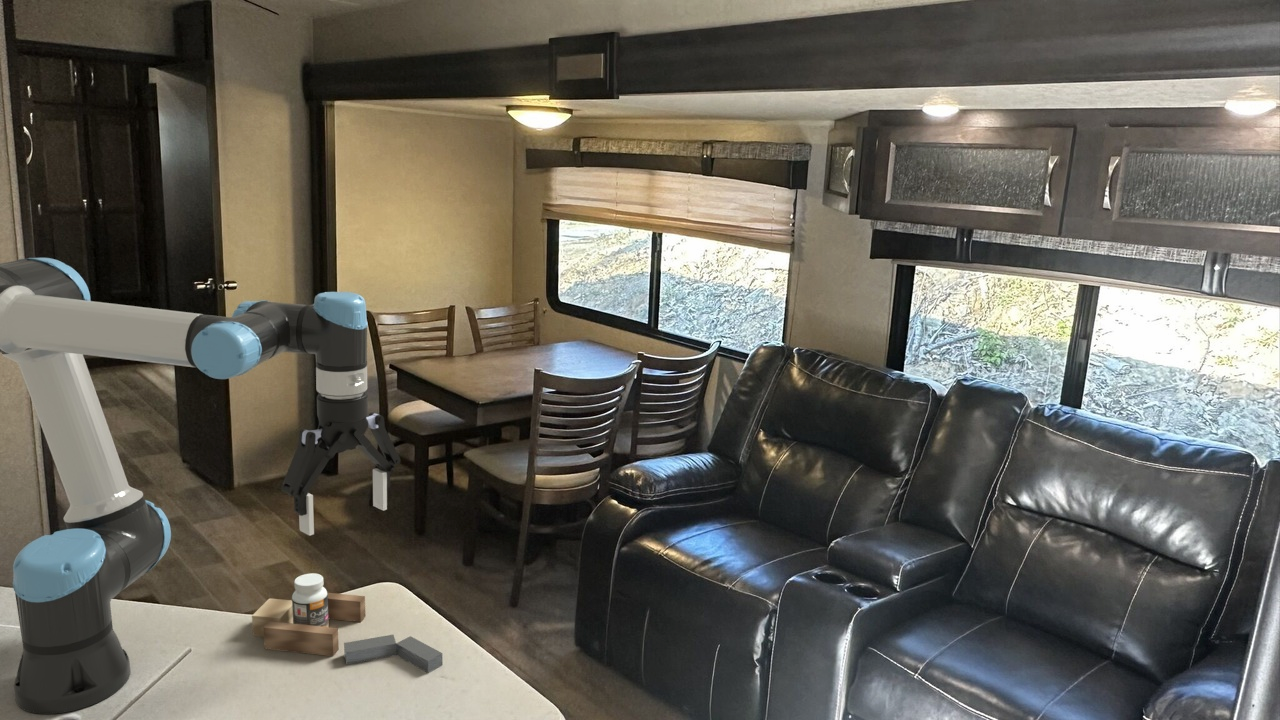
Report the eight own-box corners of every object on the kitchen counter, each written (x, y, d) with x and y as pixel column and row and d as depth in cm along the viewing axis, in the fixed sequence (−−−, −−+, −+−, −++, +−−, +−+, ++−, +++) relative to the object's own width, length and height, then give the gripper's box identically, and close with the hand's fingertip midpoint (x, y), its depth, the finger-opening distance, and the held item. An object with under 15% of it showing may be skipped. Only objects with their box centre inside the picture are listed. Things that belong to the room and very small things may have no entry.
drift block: (253, 636, 155) (251, 615, 154) (270, 618, 161) (269, 598, 160) (281, 639, 155) (280, 618, 154) (297, 621, 160) (296, 600, 160)
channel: (264, 648, 151) (263, 627, 150) (301, 610, 164) (300, 589, 163) (333, 656, 150) (332, 634, 149) (365, 616, 163) (364, 596, 162)
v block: (337, 663, 148) (337, 651, 148) (354, 641, 154) (354, 630, 154) (437, 674, 146) (437, 661, 146) (450, 651, 153) (450, 640, 152)
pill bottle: (317, 642, 154) (315, 589, 151) (287, 637, 155) (284, 584, 153) (335, 625, 159) (332, 574, 157) (305, 621, 160) (302, 569, 158)
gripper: (282, 414, 128) (287, 551, 133) (422, 383, 148) (421, 504, 153) (253, 402, 133) (259, 536, 138) (393, 374, 152) (393, 492, 157)
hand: (344, 519), depth 145 cm, fingers open, 13 cm apart
